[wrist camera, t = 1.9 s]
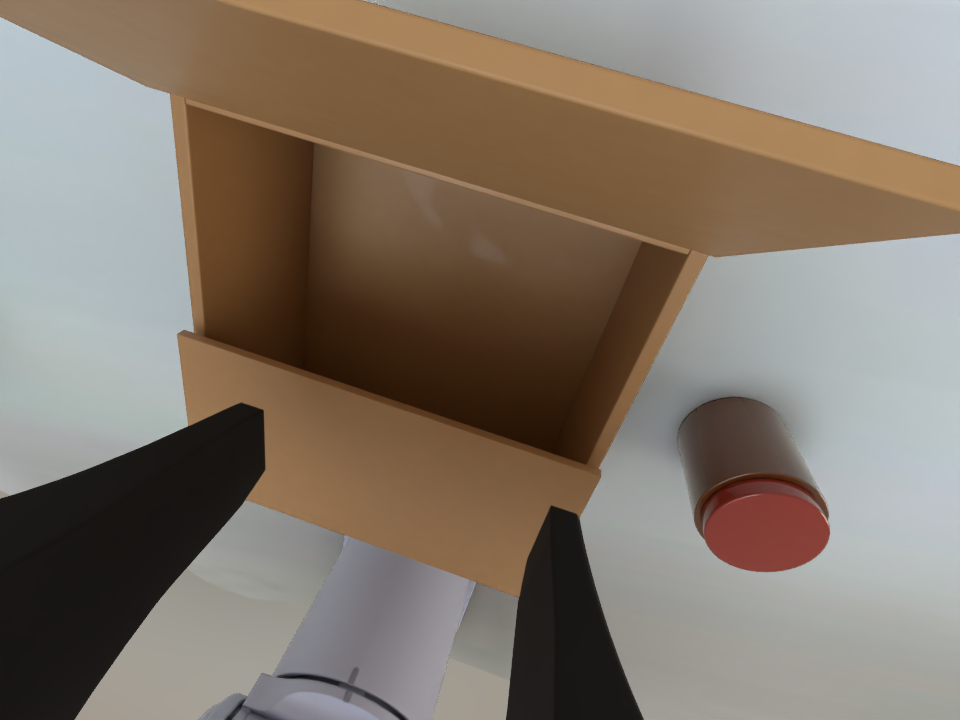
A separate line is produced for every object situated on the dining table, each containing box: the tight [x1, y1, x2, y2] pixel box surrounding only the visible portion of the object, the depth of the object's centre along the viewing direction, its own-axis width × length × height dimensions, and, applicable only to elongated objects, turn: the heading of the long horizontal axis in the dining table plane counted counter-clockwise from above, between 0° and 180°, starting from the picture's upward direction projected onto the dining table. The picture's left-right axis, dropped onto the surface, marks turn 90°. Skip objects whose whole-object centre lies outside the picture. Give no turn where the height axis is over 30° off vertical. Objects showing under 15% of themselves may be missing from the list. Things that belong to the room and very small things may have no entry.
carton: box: [170, 94, 708, 597], centre depth 16 cm, size 13×13×7 cm
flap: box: [0, 0, 960, 257], centre depth 7 cm, size 6×13×1 cm
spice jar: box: [678, 398, 830, 572], centre depth 17 cm, size 4×4×5 cm
